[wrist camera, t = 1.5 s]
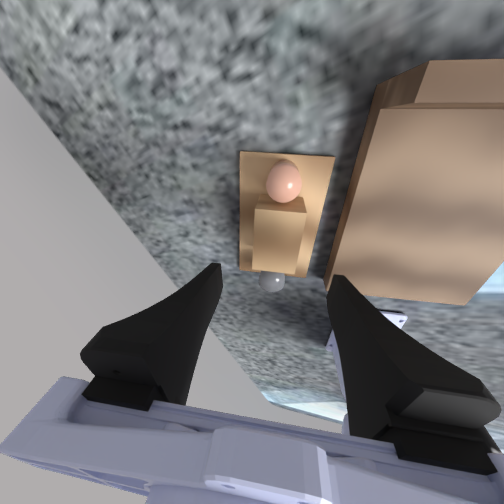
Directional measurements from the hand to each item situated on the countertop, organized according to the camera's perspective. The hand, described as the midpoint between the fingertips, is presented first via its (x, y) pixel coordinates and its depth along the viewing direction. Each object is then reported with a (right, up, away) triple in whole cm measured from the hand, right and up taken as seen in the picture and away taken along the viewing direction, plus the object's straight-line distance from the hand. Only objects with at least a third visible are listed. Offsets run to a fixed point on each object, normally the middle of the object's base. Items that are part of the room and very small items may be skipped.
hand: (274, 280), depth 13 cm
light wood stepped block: (+14, +6, +5) cm, 16 cm away
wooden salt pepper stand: (+1, +5, +8) cm, 10 cm away
